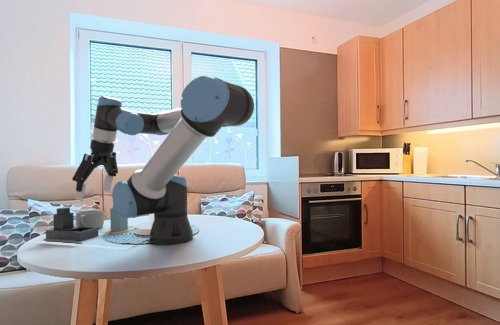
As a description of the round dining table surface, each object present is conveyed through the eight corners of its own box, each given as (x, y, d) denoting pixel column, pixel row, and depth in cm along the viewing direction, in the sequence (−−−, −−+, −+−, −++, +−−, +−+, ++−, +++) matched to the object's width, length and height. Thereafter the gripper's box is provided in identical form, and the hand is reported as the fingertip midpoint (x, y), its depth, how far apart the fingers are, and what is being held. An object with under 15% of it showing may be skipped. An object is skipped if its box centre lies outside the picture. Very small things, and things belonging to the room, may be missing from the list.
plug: (127, 228, 126) (127, 201, 126) (120, 231, 122) (119, 203, 121) (118, 228, 127) (118, 201, 127) (110, 230, 123) (110, 203, 123)
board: (141, 229, 128) (141, 227, 128) (121, 236, 117) (121, 234, 117) (117, 228, 132) (117, 225, 132) (95, 235, 120) (95, 232, 120)
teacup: (87, 227, 135) (87, 209, 135) (110, 227, 134) (110, 209, 134) (64, 235, 121) (63, 214, 121) (89, 235, 120) (89, 215, 120)
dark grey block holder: (98, 238, 115) (97, 207, 115) (80, 243, 107) (79, 210, 107) (65, 235, 120) (64, 206, 120) (45, 241, 112) (45, 209, 112)
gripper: (117, 135, 123) (108, 185, 127) (66, 138, 99) (56, 199, 103) (133, 141, 122) (123, 191, 126) (85, 145, 98) (74, 207, 102)
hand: (93, 195), depth 115 cm, fingers open, 13 cm apart
